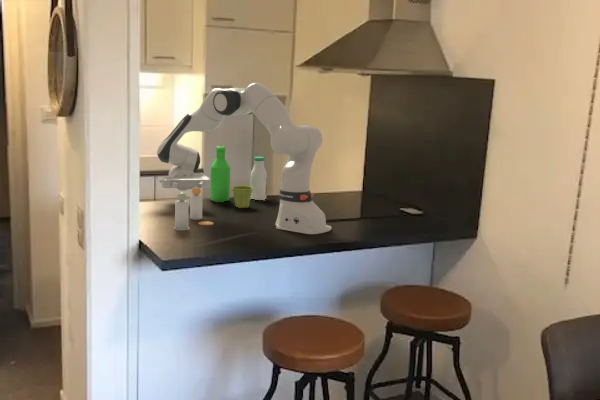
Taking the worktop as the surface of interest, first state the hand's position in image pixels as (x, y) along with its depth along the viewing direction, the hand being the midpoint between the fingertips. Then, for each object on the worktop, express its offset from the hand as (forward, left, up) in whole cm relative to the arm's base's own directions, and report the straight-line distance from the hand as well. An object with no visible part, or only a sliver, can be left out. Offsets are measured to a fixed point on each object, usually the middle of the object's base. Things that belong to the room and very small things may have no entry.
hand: (189, 185), depth 263 cm
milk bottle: (+3, -45, -12) cm, 47 cm away
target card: (-20, +15, -12) cm, 28 cm away
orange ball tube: (-11, +6, -12) cm, 17 cm away
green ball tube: (-20, +21, -11) cm, 31 cm away
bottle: (+12, -29, -12) cm, 34 cm away
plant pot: (-4, -27, -12) cm, 30 cm away
